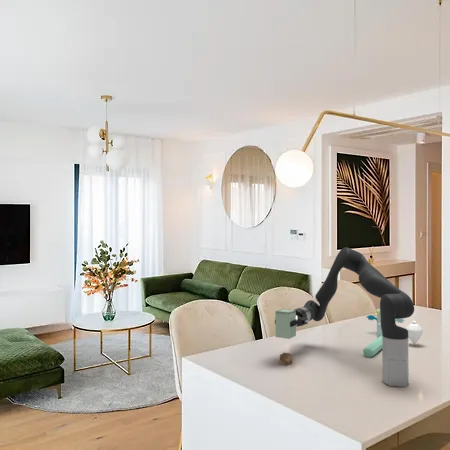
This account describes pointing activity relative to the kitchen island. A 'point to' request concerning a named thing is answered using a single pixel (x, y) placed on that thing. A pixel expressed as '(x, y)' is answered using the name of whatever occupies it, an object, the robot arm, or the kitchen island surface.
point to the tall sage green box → (285, 323)
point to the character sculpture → (378, 319)
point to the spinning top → (414, 332)
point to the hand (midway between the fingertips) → (283, 323)
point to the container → (373, 347)
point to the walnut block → (285, 359)
